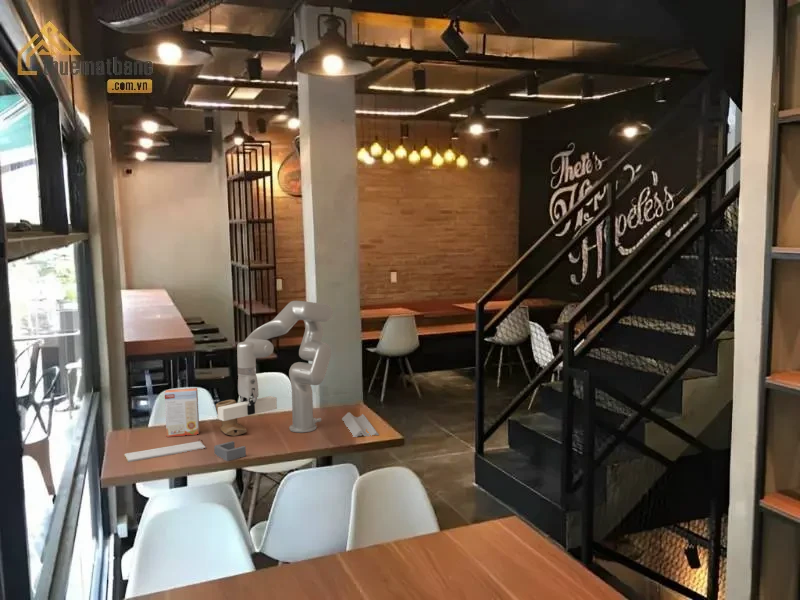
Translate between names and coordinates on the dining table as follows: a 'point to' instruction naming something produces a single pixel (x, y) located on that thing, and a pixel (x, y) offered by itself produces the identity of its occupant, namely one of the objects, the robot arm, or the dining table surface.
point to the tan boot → (230, 421)
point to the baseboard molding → (163, 451)
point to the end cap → (229, 451)
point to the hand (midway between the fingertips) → (248, 412)
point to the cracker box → (181, 412)
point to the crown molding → (359, 425)
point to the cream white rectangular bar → (241, 408)
